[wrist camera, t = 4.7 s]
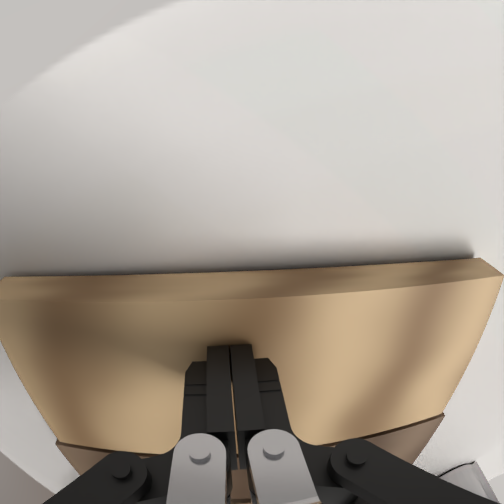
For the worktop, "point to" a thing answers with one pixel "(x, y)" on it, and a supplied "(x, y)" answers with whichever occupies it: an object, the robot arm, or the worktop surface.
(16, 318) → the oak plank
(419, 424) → the mating board
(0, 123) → the worktop surface
